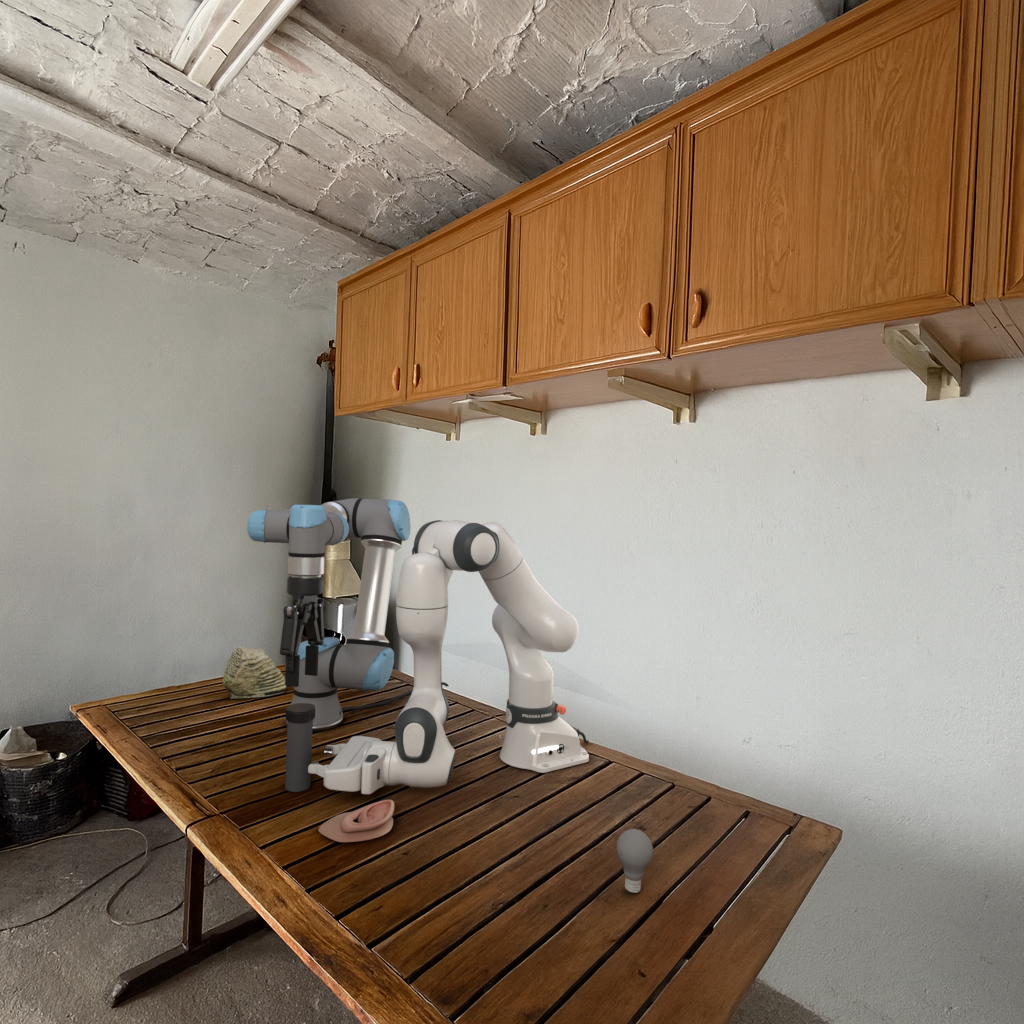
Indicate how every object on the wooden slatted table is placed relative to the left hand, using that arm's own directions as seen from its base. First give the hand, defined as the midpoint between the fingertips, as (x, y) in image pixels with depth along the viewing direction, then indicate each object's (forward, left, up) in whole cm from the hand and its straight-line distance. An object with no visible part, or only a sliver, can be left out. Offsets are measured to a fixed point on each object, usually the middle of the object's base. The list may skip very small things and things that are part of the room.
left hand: (301, 680), depth 138 cm
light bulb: (-16, +72, -23) cm, 78 cm away
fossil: (-26, -64, -23) cm, 73 cm away
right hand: (-2, +4, -17) cm, 17 cm away
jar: (0, 0, -23) cm, 23 cm away
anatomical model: (+2, +23, -23) cm, 33 cm away
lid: (0, 0, -6) cm, 6 cm away
